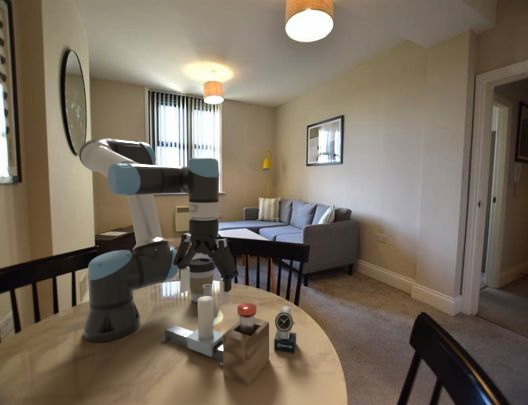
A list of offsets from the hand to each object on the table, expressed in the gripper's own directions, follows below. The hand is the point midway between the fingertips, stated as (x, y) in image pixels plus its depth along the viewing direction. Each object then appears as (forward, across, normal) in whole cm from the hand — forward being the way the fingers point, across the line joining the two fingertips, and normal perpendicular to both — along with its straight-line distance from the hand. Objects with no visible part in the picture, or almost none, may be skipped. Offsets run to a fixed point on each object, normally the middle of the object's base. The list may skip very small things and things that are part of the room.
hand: (204, 296), depth 70 cm
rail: (+15, -2, 0) cm, 15 cm away
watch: (+15, +19, +12) cm, 27 cm away
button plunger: (+6, +14, 0) cm, 15 cm away
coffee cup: (+16, -22, +24) cm, 36 cm away
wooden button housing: (+14, +14, 0) cm, 20 cm away
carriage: (+14, +1, 0) cm, 14 cm away
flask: (+16, -12, +16) cm, 25 cm away
